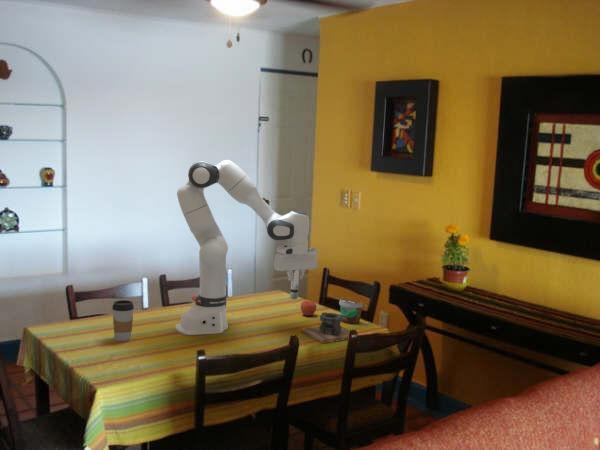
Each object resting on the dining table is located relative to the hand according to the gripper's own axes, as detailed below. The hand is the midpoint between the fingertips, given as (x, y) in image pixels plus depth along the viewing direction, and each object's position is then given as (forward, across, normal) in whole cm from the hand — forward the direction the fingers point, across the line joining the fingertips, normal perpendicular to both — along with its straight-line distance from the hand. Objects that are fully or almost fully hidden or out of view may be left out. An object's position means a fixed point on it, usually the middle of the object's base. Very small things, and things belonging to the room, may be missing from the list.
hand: (294, 279), depth 298 cm
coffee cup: (+24, +70, -14) cm, 75 cm away
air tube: (+8, 0, 0) cm, 8 cm away
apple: (+22, -18, -15) cm, 32 cm away
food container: (+21, -29, +1) cm, 36 cm away
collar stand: (+21, -11, +14) cm, 28 cm away
